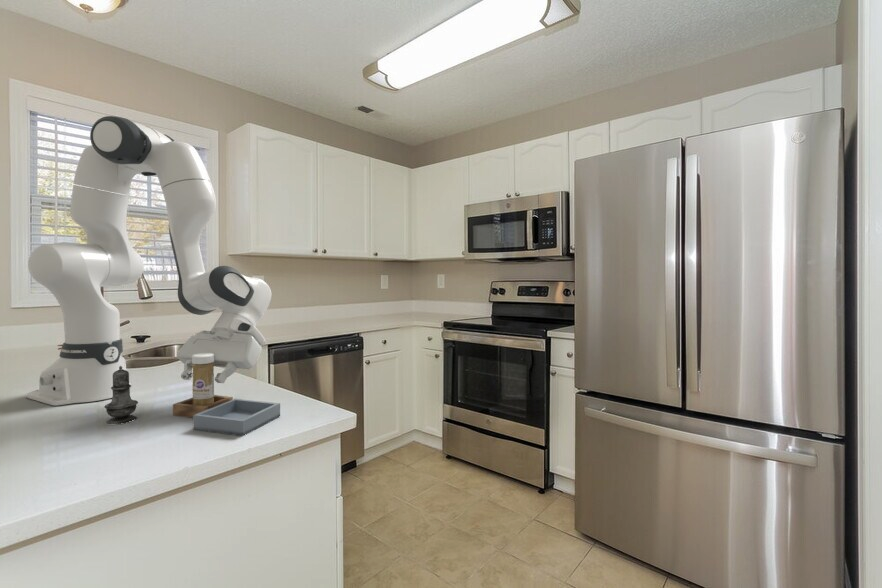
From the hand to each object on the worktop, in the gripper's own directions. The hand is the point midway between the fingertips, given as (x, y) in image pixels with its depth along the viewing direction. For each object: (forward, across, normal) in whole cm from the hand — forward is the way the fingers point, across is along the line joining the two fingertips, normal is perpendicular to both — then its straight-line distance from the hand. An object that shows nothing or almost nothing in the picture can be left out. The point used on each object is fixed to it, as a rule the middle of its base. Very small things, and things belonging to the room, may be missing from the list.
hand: (201, 380), depth 98 cm
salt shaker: (+12, -12, -1) cm, 17 cm away
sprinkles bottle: (+5, 0, +6) cm, 8 cm away
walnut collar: (+5, 0, +6) cm, 7 cm away
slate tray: (+8, +13, +3) cm, 15 cm away
